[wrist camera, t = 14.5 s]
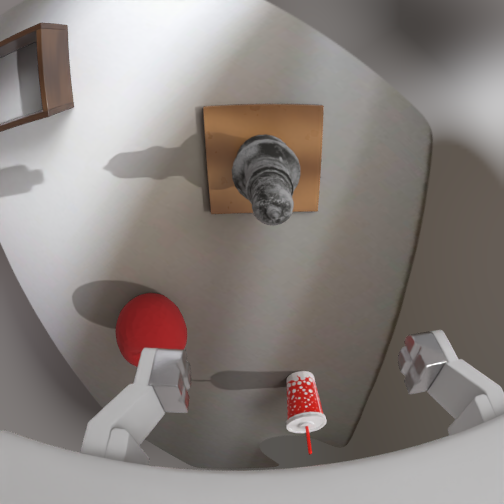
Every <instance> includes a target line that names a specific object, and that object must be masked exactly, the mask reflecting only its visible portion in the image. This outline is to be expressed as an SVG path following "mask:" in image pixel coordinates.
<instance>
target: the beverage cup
mask: <svg viewBox="0 0 504 504" xmlns="http://www.w3.org/2000/svg"><path fill="white" fill-rule="evenodd" d="M286 380H287V408H288V420H287V421H286V426H287V430H289V431H290V432H294V433H306V436H307V444H308V452H309V455H311V454H312V450H311V442H310V435H309V432H312V431H316V430H318V429H320V428H322V427H323V426H324V425H325V424H326V421H327V420H326V416H325V415H324V414H323V411H322V407H321V403H320V399H319V395H318V391H317V387H316V383H315V380H314V376H313V374H312V373H310V372H307V371H299V372H295V373H292V374H291V375H289V376H288V377H287V379H286Z"/></svg>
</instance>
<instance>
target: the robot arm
mask: <svg viewBox="0 0 504 504" xmlns="http://www.w3.org/2000/svg"><path fill="white" fill-rule="evenodd" d="M404 343H405V346H404V347H403V348H402V349H401V350H400V352H399V355H398V364H399V369H400V371H401V372H402V373H403V374H404V375H405V376H406V377H405V380H404V382H405V384H406V387H407V390H408V392H409V394H414V393H419V392H424V391H427V392H428V393H429V394H430V395H431V396H432V397H433V398H434V399H435V400H436V401H437V402H438V403H439V404H440V405H441V406H442V407H443V408H444V409H446V410H447V411H448V412H449V413H450V414H451V415H452V416H453V417H454V418H455V419H456V420H455V421H454V422H453V423H452V424H451V425H450V426H449V428H448V432H449V436H447V437H444V438H441V439H437V440H434V441H431V442H428V443H424V444H421V445H417V446H414V447H410V448H407V449H403V450H399V451H395V452H391V453H386V454H382V455H377V456H372V457H367V458H363V459H357V460H351V461H345V462H339V463H333V464H325V465H317V466H309V467H299V468H288V469H272V470H243V471H224V470H222V471H220V470H195V469H181V468H169V467H158V466H151V465H149V460H150V459H149V457H148V456H147V455H146V453H145V452H144V451H143V450H142V449H141V447H140V446H139V445H140V444H141V443H142V442H143V440H144V439H145V438H146V437H147V435H148V434H149V433H150V432H151V431H152V429H153V428H154V427H155V426H156V424H157V423H158V422H159V421H160V419H161V418H162V417H163V416H164V414H165V412H175V413H188V405H189V395H188V392H187V391H188V390H189V388H190V387H191V368H190V364H189V363H188V362H187V353H186V350H182V349H162V348H144V349H143V350H142V352H141V356H140V360H139V364H138V367H137V371H136V375H135V379H134V383H133V384H129V385H128V386H127V387H126V388H125V389H124V390H122V391H121V392H120V393H119V394H118V395H117V396H116V397H115V398H114V399H113V400H112V401H111V402H110V403H108V404H107V405H106V406H105V407H104V408H103V409H102V410H101V411H100V412H99V413H98V414H97V415H96V416H94V417H93V418H92V419H91V420H90V421H89V422H88V425H87V428H86V432H85V435H84V439H83V443H82V447H81V450H80V453H79V452H75V451H70V450H67V449H63V448H59V447H56V446H52V445H49V444H45V443H42V442H39V441H36V440H33V439H29V438H27V437H24V436H21V435H18V434H16V433H13V432H10V431H7V430H1V431H0V504H504V393H503V390H502V388H501V387H500V386H499V385H498V384H496V383H495V382H493V381H492V380H491V379H489V378H488V377H486V376H485V375H483V374H482V373H481V372H479V371H478V370H476V369H475V368H473V367H472V366H471V365H469V364H468V363H466V362H465V361H463V360H462V359H460V360H459V359H458V358H457V356H456V354H455V352H454V350H453V348H452V346H451V344H450V343H449V341H448V339H447V337H446V335H445V334H444V332H443V331H441V330H437V331H431V332H424V333H418V334H411V335H408V336H407V337H406V339H405V341H404Z"/></svg>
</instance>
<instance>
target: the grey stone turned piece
mask: <svg viewBox="0 0 504 504" xmlns="http://www.w3.org/2000/svg"><path fill="white" fill-rule="evenodd" d="M232 179H233V182H234V185H235V187H236V189H237V190H238V191H239V193H240V194H241V195H243V196H244V197H245V198H246V199H248V200H249V201H250V203H251V204H252V210H253V213H254V215H255V216H256V217H257V219H258V220H259V221H261V222H262V223H264V224H267V225H278V224H282V223H283V222H285V221H286V220H287V219H288V218H289V217H290V216H291V214H292V211H293V207H294V202H293V199H292V196H293V192H294V190H295V188H296V187H297V185H298V183H299V179H300V164H299V160H298V158H297V157H296V155H295V153H294V152H293V151H292V150H291V149H290V148H289V147H288V146H287V145H286V144H285V143H284V142H283V141H282V140H281V139H279V138H277V137H275V136H272V135H267V134H265V135H257V136H254V137H251V138H250V139H248V140H246V141H245V142H244V143H243V144H242V145H241V147H240V149H239V151H238V153H237V156H236V158H235V160H234V162H233V167H232Z"/></svg>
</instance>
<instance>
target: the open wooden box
mask: <svg viewBox="0 0 504 504" xmlns="http://www.w3.org/2000/svg"><path fill="white" fill-rule="evenodd" d="M34 42H37V58H38V71H39V81H40V91H41V99H42V106H43V110H41V111H38V112H35V113H32V114H28V115H25V116H22V117H19V118H16V119H13V120H10V121H8V122H5V123H2V124H0V132H1V131H4V130H7V129H10V128H13V127H16V126H19V125H22V124H25V123H29V122H32V121H35V120H39V119H42V118H46V117H49V116H52V115H54V114H57V113H59V112H62V111H65V110H68V109H70V108H73V107H74V103H73V95H72V86H71V76H70V64H69V49H68V28H67V25H62V24H51V23H39V24H37V25H34V26H32V27H30V28H28V29H25V30H23V31H21V32H19V33H17V34H15V35H13V36H11V37H9V38H7V39H5V40H3V41H1V42H0V58H1V57H3V56H5V55H7V54H10V53H12V52H14V51H16V50H18V49H20V48H23V47H25V46H27V45H30V44H32V43H34Z"/></svg>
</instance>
